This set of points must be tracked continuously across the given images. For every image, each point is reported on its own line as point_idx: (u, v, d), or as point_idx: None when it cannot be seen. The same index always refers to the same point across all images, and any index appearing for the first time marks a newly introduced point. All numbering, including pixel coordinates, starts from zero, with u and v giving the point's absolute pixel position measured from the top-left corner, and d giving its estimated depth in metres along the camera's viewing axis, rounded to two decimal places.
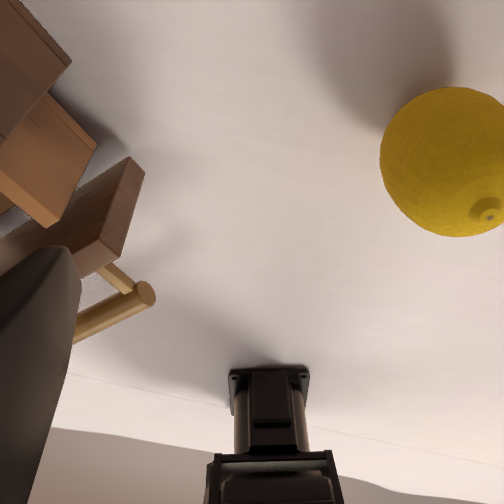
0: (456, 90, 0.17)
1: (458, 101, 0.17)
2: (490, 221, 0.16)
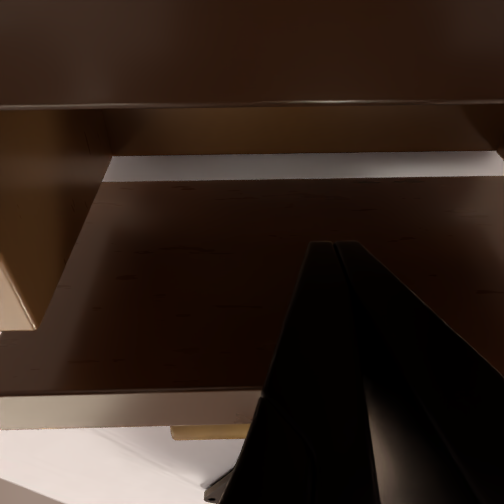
0: None
1: None
2: None
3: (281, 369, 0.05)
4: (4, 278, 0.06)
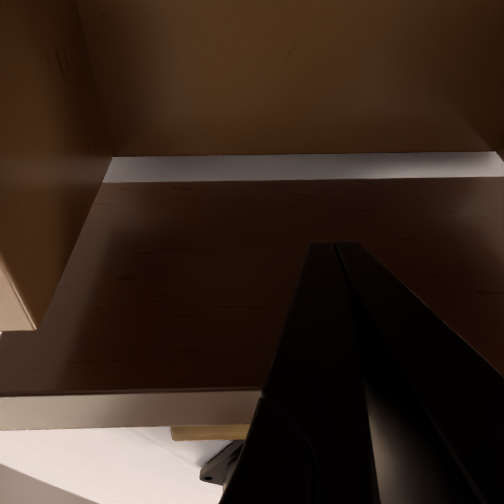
0: None
1: None
2: None
3: (281, 369, 0.05)
4: (5, 278, 0.06)
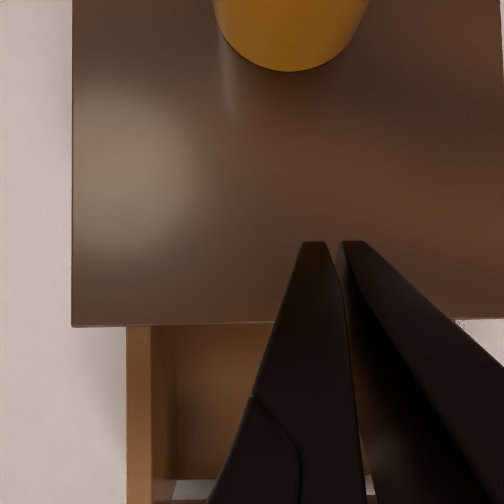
0: None
1: None
2: None
3: (271, 369, 0.05)
4: None
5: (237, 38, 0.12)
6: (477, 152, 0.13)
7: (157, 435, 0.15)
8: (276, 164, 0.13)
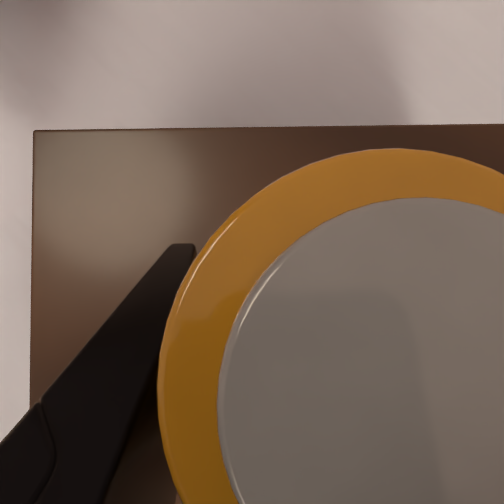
0: None
1: None
2: None
3: (71, 374, 0.05)
4: None
5: None
6: None
7: None
8: None
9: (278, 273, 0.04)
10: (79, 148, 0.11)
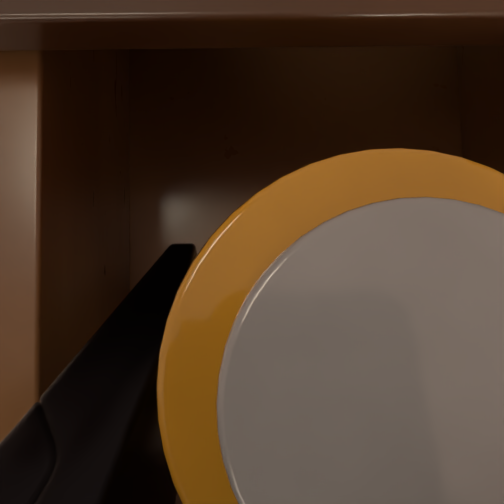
0: None
1: None
2: None
3: (71, 374, 0.05)
4: None
5: None
6: None
7: (65, 310, 0.07)
8: None
9: (278, 273, 0.04)
10: None
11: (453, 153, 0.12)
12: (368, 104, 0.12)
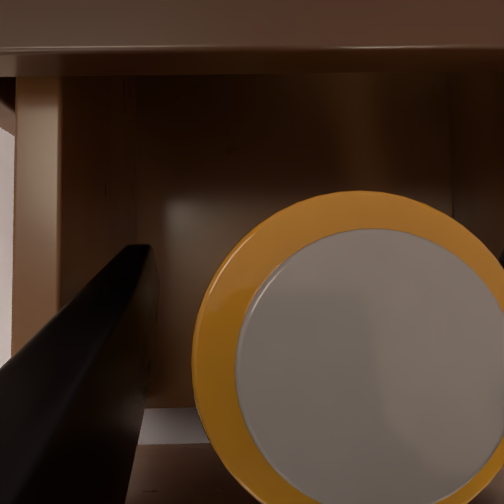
0: None
1: None
2: None
3: (4, 375, 0.05)
4: None
5: None
6: None
7: None
8: None
9: (274, 281, 0.05)
10: None
11: (442, 149, 0.13)
12: (361, 103, 0.13)
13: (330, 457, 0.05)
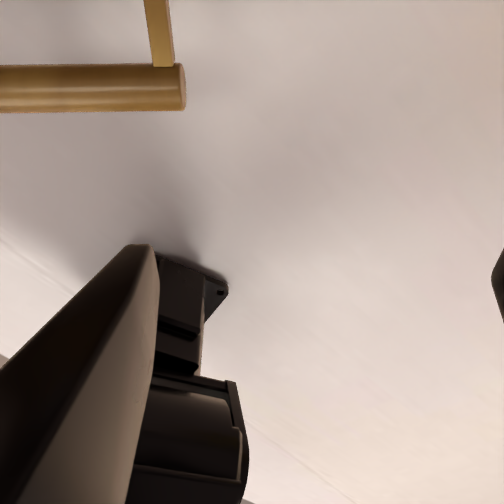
0: None
1: None
2: None
3: (3, 375, 0.05)
4: None
5: None
6: None
7: None
8: None
9: None
10: None
11: None
12: None
13: None
